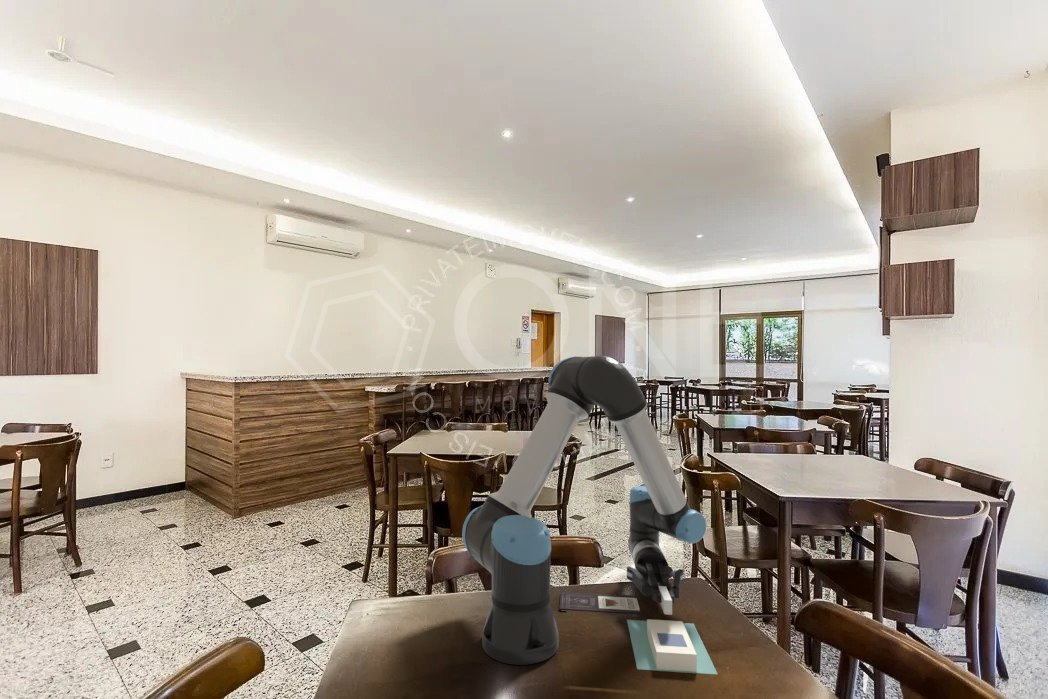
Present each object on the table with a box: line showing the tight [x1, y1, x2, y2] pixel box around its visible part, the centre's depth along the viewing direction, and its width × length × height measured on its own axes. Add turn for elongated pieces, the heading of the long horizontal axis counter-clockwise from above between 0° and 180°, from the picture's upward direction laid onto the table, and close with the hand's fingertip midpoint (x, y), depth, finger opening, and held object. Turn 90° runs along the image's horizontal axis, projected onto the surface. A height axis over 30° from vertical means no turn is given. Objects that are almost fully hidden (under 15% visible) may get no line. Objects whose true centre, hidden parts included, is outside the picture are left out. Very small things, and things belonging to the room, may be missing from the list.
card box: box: [646, 618, 697, 672], centre depth 94 cm, size 7×3×12 cm
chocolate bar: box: [558, 591, 642, 615], centre depth 115 cm, size 9×1×18 cm
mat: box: [626, 619, 719, 676], centre depth 97 cm, size 14×18×1 cm
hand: (668, 607), depth 96 cm, fingers closed
